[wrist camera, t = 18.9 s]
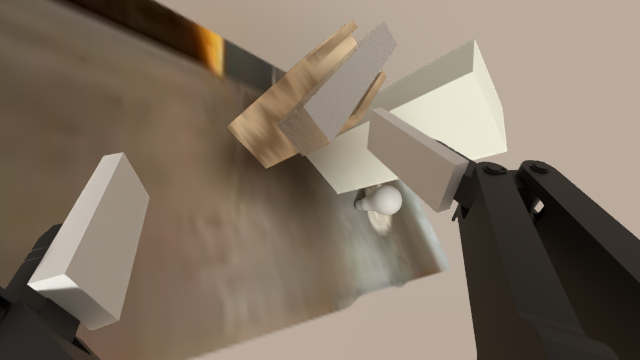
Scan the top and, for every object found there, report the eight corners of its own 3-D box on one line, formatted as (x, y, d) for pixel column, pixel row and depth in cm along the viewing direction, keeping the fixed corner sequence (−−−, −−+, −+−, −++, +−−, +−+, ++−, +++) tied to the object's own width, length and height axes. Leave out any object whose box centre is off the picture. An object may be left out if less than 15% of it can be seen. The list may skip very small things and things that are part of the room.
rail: (276, 124, 20) (303, 106, 18) (363, 37, 35) (384, 21, 33) (302, 156, 22) (331, 143, 19) (375, 59, 37) (397, 44, 34)
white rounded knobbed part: (348, 189, 56) (391, 177, 48) (364, 197, 59) (407, 188, 52) (346, 214, 53) (391, 207, 45) (363, 222, 57) (408, 216, 49)
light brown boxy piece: (226, 126, 38) (312, 49, 24) (267, 92, 46) (352, 18, 32) (265, 168, 41) (362, 122, 27) (298, 130, 49) (387, 78, 35)
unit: (302, 152, 48) (472, 71, 28) (326, 120, 56) (474, 38, 35) (339, 195, 53) (508, 154, 32) (356, 161, 60) (503, 109, 40)
